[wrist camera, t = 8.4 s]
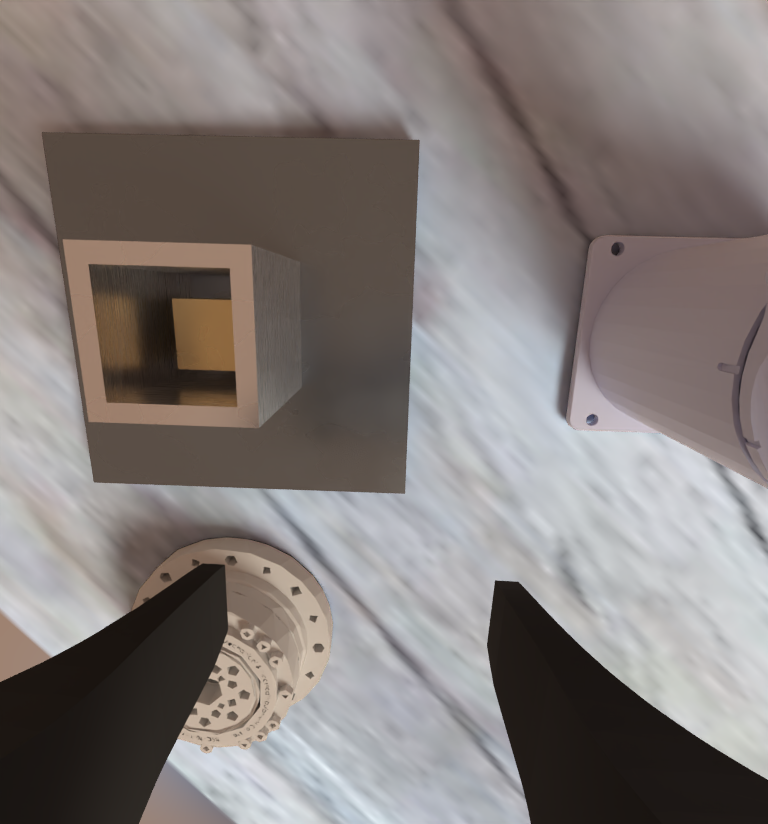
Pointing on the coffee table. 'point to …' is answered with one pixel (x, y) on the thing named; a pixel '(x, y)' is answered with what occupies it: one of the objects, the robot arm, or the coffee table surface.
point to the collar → (155, 334)
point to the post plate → (335, 293)
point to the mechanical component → (253, 639)
